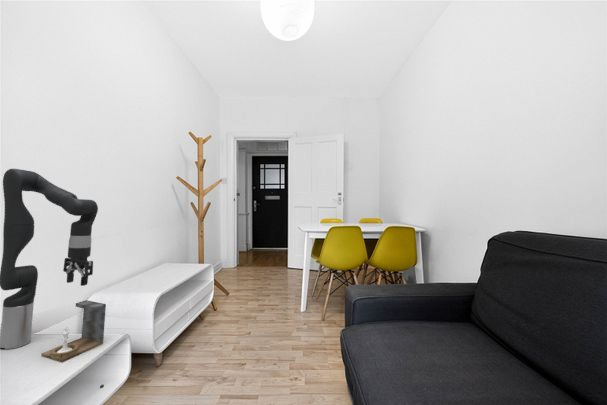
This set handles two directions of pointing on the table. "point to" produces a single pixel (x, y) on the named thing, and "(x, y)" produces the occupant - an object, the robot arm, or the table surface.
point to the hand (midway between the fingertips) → (76, 283)
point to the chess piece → (65, 342)
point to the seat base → (84, 332)
